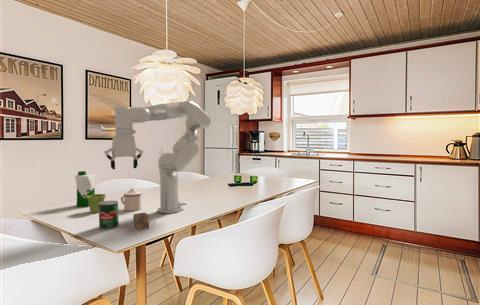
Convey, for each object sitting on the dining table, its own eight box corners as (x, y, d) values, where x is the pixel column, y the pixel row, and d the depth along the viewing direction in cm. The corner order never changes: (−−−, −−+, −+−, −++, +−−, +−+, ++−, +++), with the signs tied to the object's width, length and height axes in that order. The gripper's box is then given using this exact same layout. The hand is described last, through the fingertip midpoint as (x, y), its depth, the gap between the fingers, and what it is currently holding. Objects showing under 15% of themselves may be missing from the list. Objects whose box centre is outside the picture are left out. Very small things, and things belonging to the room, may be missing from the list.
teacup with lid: (144, 208, 158) (144, 187, 158) (134, 212, 150) (134, 190, 149) (126, 206, 162) (126, 186, 161) (115, 210, 153) (115, 189, 153)
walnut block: (144, 225, 127) (144, 212, 127) (148, 228, 123) (148, 214, 123) (133, 227, 124) (133, 214, 124) (137, 230, 120) (137, 216, 120)
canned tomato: (115, 223, 130) (114, 199, 130) (121, 227, 125) (120, 202, 124) (96, 226, 125) (96, 202, 125) (102, 230, 119) (101, 205, 119)
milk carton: (84, 203, 170) (83, 170, 169) (98, 203, 168) (97, 170, 167) (73, 206, 161) (72, 172, 160) (87, 207, 159) (87, 172, 158)
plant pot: (98, 214, 145) (97, 197, 145) (82, 213, 147) (82, 197, 147) (110, 209, 154) (109, 194, 154) (95, 209, 156) (94, 193, 156)
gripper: (140, 133, 140) (140, 167, 141) (102, 132, 131) (103, 168, 131) (144, 132, 134) (145, 168, 135) (105, 132, 124) (105, 170, 125)
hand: (124, 168), depth 133 cm, fingers open, 9 cm apart
